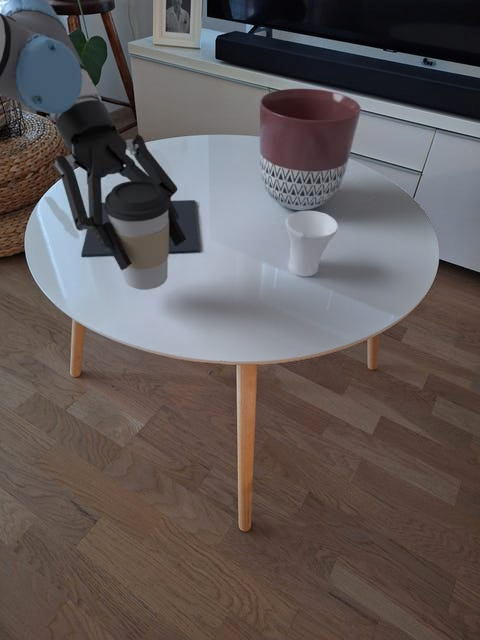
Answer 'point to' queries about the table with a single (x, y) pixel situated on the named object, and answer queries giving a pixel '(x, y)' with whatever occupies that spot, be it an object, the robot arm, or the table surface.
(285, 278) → the table surface
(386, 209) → the table surface
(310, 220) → the cup
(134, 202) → the coffee cup
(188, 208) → the mat
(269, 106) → the planter
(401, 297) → the table surface
